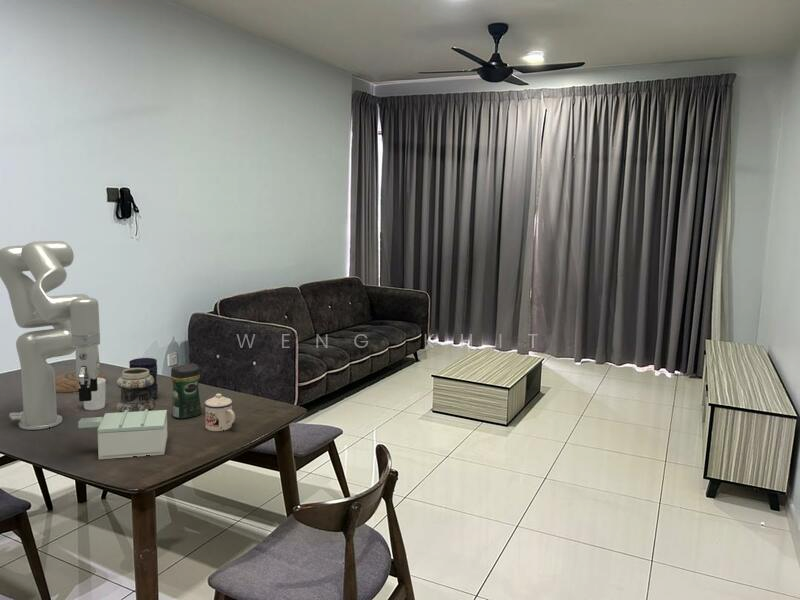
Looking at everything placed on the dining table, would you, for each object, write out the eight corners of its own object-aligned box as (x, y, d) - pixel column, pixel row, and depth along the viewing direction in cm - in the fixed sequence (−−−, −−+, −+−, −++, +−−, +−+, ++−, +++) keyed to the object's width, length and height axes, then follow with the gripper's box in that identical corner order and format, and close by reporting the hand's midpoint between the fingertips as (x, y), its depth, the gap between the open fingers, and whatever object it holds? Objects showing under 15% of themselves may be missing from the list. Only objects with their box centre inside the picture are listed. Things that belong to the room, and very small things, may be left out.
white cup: (81, 412, 216) (80, 384, 214) (83, 405, 223) (82, 378, 221) (106, 409, 219) (105, 383, 217) (107, 403, 226) (106, 377, 224)
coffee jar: (193, 409, 223) (193, 360, 220) (204, 415, 218) (203, 365, 215) (168, 415, 216) (167, 364, 213) (178, 421, 211) (177, 369, 208)
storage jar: (161, 395, 237) (161, 358, 235) (152, 403, 227) (151, 365, 225) (136, 394, 237) (135, 357, 234) (125, 402, 227) (124, 364, 225)
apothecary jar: (157, 414, 217) (156, 365, 214) (153, 426, 205) (152, 374, 203) (120, 415, 213) (119, 366, 211) (114, 428, 202) (112, 376, 199)
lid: (74, 434, 175) (74, 428, 175) (84, 417, 188) (84, 412, 188) (163, 428, 182) (163, 422, 182) (166, 412, 195) (166, 407, 195)
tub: (98, 459, 178) (97, 433, 177) (106, 441, 191) (105, 416, 190) (164, 454, 183) (163, 429, 182) (167, 437, 197) (166, 413, 195)
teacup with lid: (198, 427, 206) (198, 394, 204) (219, 420, 213) (219, 388, 211) (223, 436, 199) (223, 402, 198) (244, 428, 207) (244, 395, 205)
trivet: (65, 398, 230) (65, 393, 229) (23, 387, 240) (22, 383, 240) (120, 382, 252) (120, 378, 252) (80, 373, 263) (79, 368, 262)
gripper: (94, 345, 171) (97, 403, 174) (104, 333, 187) (107, 387, 190) (64, 346, 169) (68, 405, 171) (77, 334, 185) (80, 388, 188)
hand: (88, 395), depth 181 cm, fingers open, 9 cm apart
